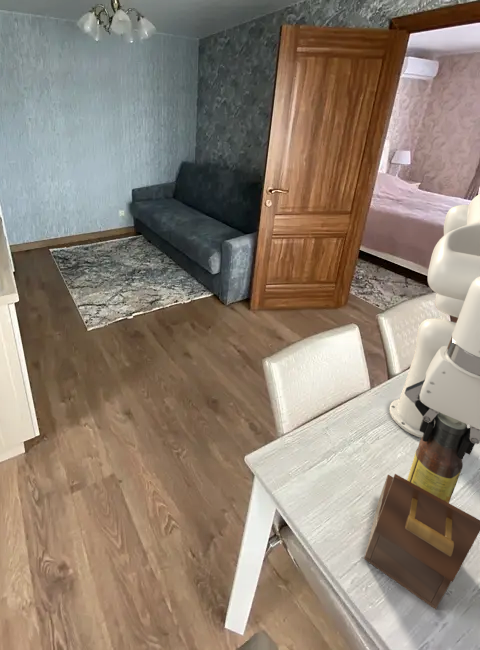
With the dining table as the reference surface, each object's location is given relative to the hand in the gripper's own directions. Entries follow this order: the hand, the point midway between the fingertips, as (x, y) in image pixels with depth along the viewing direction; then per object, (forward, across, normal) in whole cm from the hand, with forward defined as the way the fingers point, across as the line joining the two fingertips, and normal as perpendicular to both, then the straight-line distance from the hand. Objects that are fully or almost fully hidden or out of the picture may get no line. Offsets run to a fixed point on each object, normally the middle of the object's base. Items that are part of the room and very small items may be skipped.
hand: (442, 443), depth 58 cm
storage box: (+28, -1, +1) cm, 28 cm away
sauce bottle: (+15, -1, 0) cm, 15 cm away
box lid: (+11, -1, +7) cm, 13 cm away
